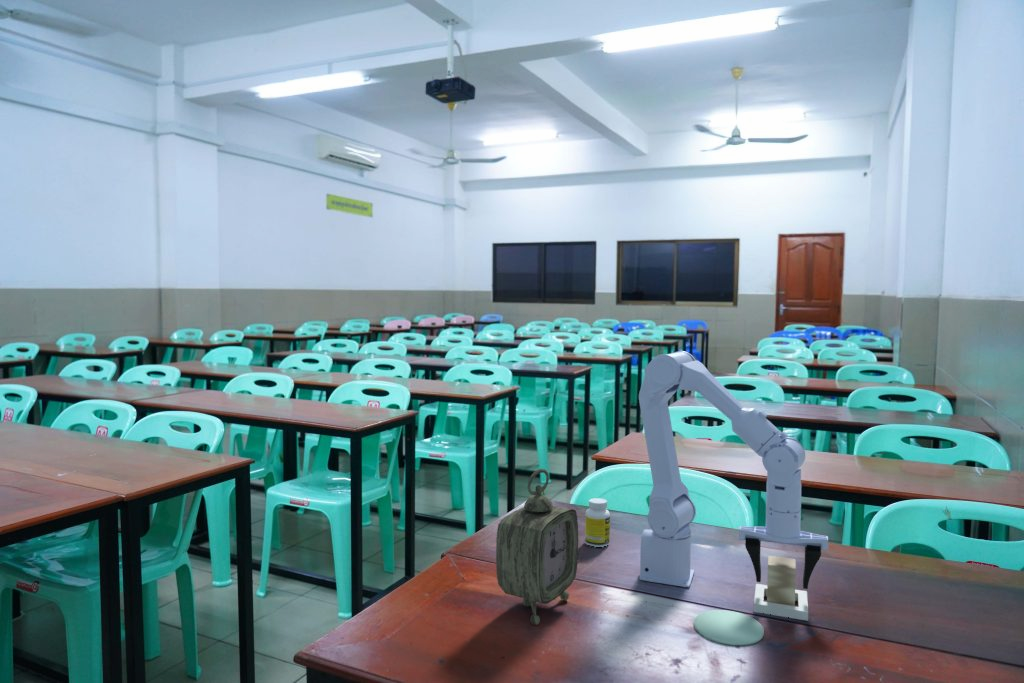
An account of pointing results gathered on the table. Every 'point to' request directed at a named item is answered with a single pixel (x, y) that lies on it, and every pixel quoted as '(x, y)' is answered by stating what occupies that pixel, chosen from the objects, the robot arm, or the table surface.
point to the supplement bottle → (597, 523)
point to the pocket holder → (781, 609)
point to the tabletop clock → (537, 550)
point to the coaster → (728, 627)
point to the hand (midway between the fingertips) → (781, 583)
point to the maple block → (781, 580)
